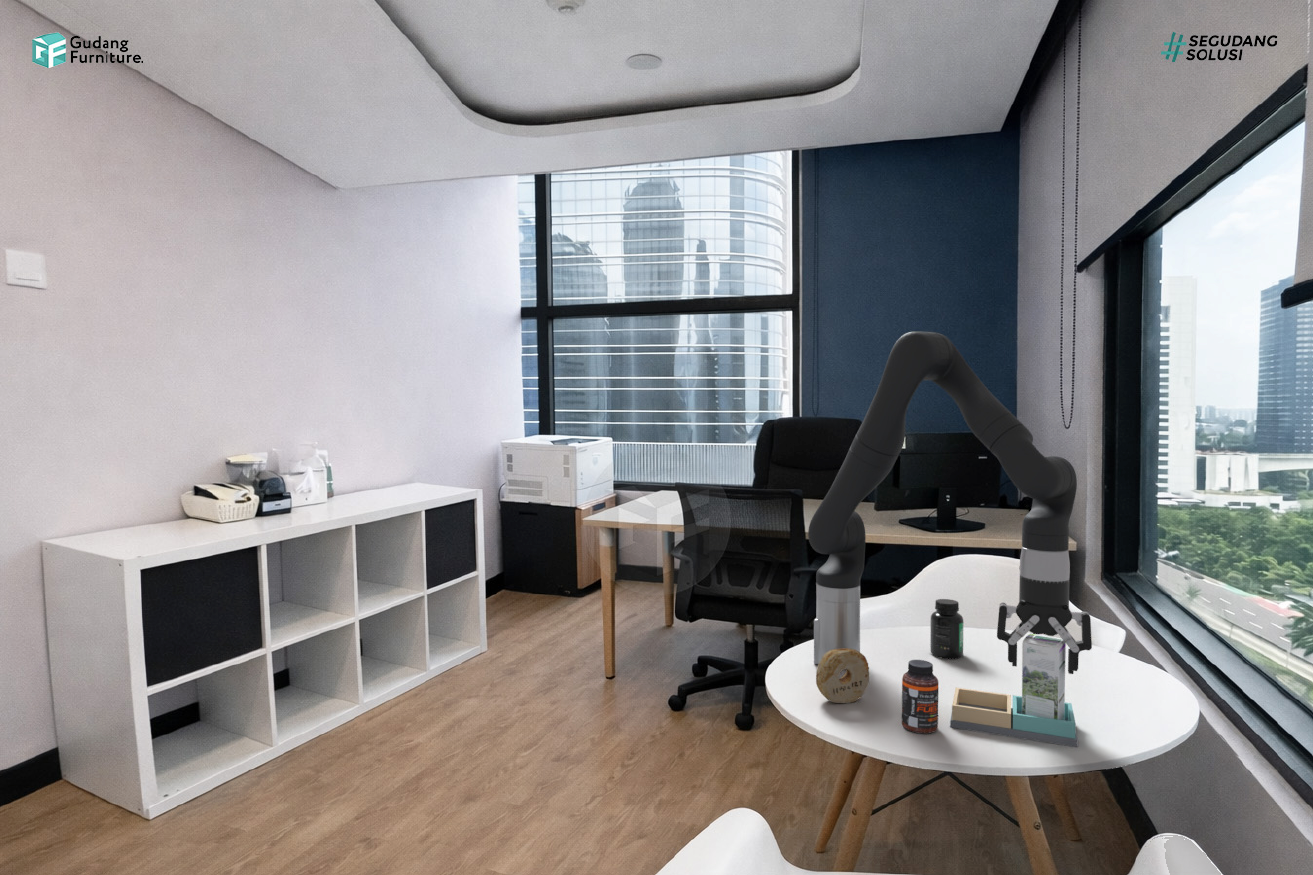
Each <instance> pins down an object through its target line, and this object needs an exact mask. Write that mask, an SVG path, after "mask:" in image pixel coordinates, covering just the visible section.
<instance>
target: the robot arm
mask: <svg viewBox="0 0 1313 875" xmlns="http://www.w3.org/2000/svg"><path fill="white" fill-rule="evenodd" d="M922 381H932V382H933V383H934V384H936V385H937V386H938V387H940V388H941V389H943V391H945V392H946V393H947V394H948V395H949V396H950V397H951V398H952V399H953V401H954V402H955V404H956V406H958V408H959V411H960V413H961V416H962V417H963V419H964V421H965V423H966V425H967V427H968V428H969V430H970V431H971V432H972V434H973V435H974V436H975V437H976V438H977V439H978V441H980V442H981V444H983V445H984V447H985V448H986V449H988V451H990V453H991V454H993V455H994V456H995V457H996V458H997V460H998V461H999V463H1000V465H1001V467H1002V469H1003V470H1004V472H1005V473H1006V475H1007V476H1008V478H1009V479H1010V481H1011V482H1012V483H1013V485H1014V486H1015V487H1016V488H1017V489H1018V490H1019V492H1021V493H1022V494H1024V495H1025V496H1027V497H1028V498H1030V499H1032V503H1031V510H1030V511H1028V513H1026V514H1025V516H1024V517H1023V520H1022V528H1021V530H1022V531H1021V552H1020V558H1019V567H1018V568H1019V590H1018V594H1019V595H1018V596H1019V598H1018V604H1017V605H1008V604H1007V603H1006V602H1001V603H999V605H998V606H999V607H998V619H997V627H996V628H997V629H996V638H997V639H998V640H1000V641H1004V642H1005V643H1006V644H1007V661H1008V662H1009V663H1012V665H1011V666H1012V667H1018V665H1017V664H1018V663H1017V662H1018V642H1020V640H1021V638H1023V637H1024V636H1025V635H1026V634H1028V632H1030V633H1031V634H1036V635H1044V636H1048V637H1054V636H1057V635H1058V636H1060V639H1063V641H1064V642H1065V643H1066V646H1067V647H1068V650H1067V651H1068V652H1067V653H1068V654H1067V657H1068V658H1067V672H1068V674H1069V675H1074V673H1075V672H1077V671H1078V669H1079V654H1080V652H1082V651H1091V650H1092V647H1093V641H1092V623H1091V615H1090V613H1089V612H1088V611H1087V610H1082V611H1081V612H1078V611H1077V612H1076V611H1071V610H1070V605H1069V604H1070V575H1071V569H1070V566H1071V563H1070V562H1071V561H1070V554H1069V553H1070V552H1069V545H1070V544H1069V541H1070V532H1069V531H1070V530H1069V528H1070V527H1069V523H1070V521H1071V520H1070V518H1071V516H1072V512H1073V508H1074V503H1075V499H1076V494H1077V487H1078V486H1077V485H1078V479H1077V474H1076V470H1075V468H1074V466H1073V465H1072V464H1071V462H1070V461H1069V460H1067V459H1065V458H1063V457H1061V456H1055V455H1051V456H1044V455H1043V454H1042V453H1041V452H1040V451H1039V450H1038V448H1036V446H1035V445H1034V444H1033V442H1034V437H1033V435H1032V433H1031V431H1030V430H1029V429H1028V428H1027V427H1026V426H1025V425H1024V424H1023V423H1022V421H1020V419H1018V418H1017V417H1016V416H1015V415H1014V414H1013V413H1012V412H1011V411H1010V410H1009V409H1008V408H1007V407H1006V406H1004V404H1003V403H1001V401H1000V400H999V399H998V398H997V397H995V395H994V394H993V393H992V392H991V391H990V389H988V388H987V386H985V384H984V382H982V380H981V379H980V378H979V376H977V374H976V373H975V371H973V369H972V368H971V367H970V365H969V364H968V362H967V361H966V359H965V358H964V357H963V356H962V354H961V353H960V351H959V350H958V348H957V347H956V346H955V344H954V343H953V342H952V341H951V340H950V339H949V337H947V336H946V335H944V334H942V333H938V332H934V331H921V330H920V331H916V330H915V331H910V332H906V333H904V334H903V335H901V336H900V337H899V338H898V339H897V340H896V342H895V343H894V345H893V346H892V349H891V351H890V353H889V356H888V358H887V361H886V364H885V367H884V370H883V373H882V376H881V380H880V382H879V383H878V387H877V389H876V392H875V395H874V396H873V399H872V401H871V403H870V405H869V407H868V409H867V412H866V414H865V416H864V418H863V421H862V422H861V424H860V426H859V428H858V430H857V432H856V434H855V436H854V438H853V439H852V442H851V445H850V447H849V449H848V452H847V454H846V455H845V456H846V457H845V459H844V460H843V462H842V465H841V466H840V469H839V470H838V472H837V473H836V476H835V479H834V481H833V482H832V485H831V486H830V488H829V489H828V492H827V493H826V495H825V496H824V498H823V500H822V501H821V503H820V504H819V506H818V507H817V509H816V511H815V512H814V513H813V516H812V518H811V520H810V522H809V526H808V529H807V530H808V531H807V532H808V533H807V535H808V542H809V544H810V546H811V547H812V549H813V550H814V551H815V552H816V553H818V554H821V555H829V557H828V559H827V560H826V562H825V563H824V564H823V565H822V566H820V567H819V568H818V569H817V571H816V573H815V574H816V576H815V579H816V582H815V585H816V591H815V593H816V603H815V604H816V607H815V608H816V612H815V613H816V617H815V618H814V620H813V664H815V665H818V664H819V663H820V660H821V659H822V657H823V655H824V654H825V653H826V652H828V651H830V650H833V649H841V648H849V649H854V650H856V651H858V652H860V653H861V578H862V575H863V573H864V569H865V556H866V555H865V554H866V528H865V527H866V526H865V524H864V521H863V519H862V517H861V515H860V514H859V513H858V512H856V509H857V508H858V506H859V504H860V503H862V501H863V500H864V499H865V498H866V497H868V496H869V495H870V494H871V493H872V492H873V491H874V490H875V489H876V487H878V486H879V485H880V484H881V483H882V482H883V481H884V480H885V478H886V477H888V475H889V474H890V472H891V471H892V469H893V467H894V466H895V463H896V461H897V460H898V457H899V455H900V453H901V451H902V449H903V447H904V444H905V438H906V437H905V436H906V417H907V416H906V415H907V411H908V407H909V405H910V403H911V400H912V399H913V396H914V395H915V393H916V391H917V389H918V387H919V386H920V385H921V383H922ZM1013 614H1016V615H1017V617H1018V618H1019V620H1020V621H1021V622H1019V623H1018V625H1016V627H1015V628H1014V630H1012V632H1011V633H1009V632H1007V631H1006V628H1007V627H1006V625H1007V619H1010V618H1012V616H1013ZM1072 620H1074V621H1075V622H1076V624H1077V625H1078V626H1079V627H1081V628H1080V629H1081V640H1077V641H1076V639H1075V638H1074V637H1073V636H1072V634H1071V633H1070V631H1069V630H1068V629H1067V628H1066V626H1067V625H1069V623H1070V622H1071V621H1072Z"/></svg>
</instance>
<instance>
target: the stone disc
mask: <svg viewBox="0 0 1313 875" xmlns="http://www.w3.org/2000/svg"><path fill="white" fill-rule="evenodd" d="M816 667H817V668H816V675H815V684H816V687H817V689H818V691H819V692H820V693H821V694H822V696H823V697H824V698H825V699H826V700H828V701H830V702H831V703H835V704H848V703H854V702H856V701H858V700H859V699H860V698H861V697H862V696H863V695H865V694H864V693H865V692H866V690H867V688H868V686H869V682H870V672H869V670H870V667H869V662H868V659H867V658H866V656H865V655H864V654H863V653H862V652H861V651H860V652H858V651H856V650H854V649H849V648H841V649H833V650H830V651H828V652H826V653H825V654H824V655H823V657H822V659H821V660H820V663H819V664H817V666H816ZM844 670H845V673H844V674H843V676H842V677H840V674H841V672H842V671H844Z"/></svg>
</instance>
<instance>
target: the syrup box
mask: <svg viewBox="0 0 1313 875" xmlns="http://www.w3.org/2000/svg"><path fill="white" fill-rule="evenodd" d="M1066 646H1067V644H1066V643H1065V642H1064V641H1063V639H1062V638H1061V637H1060V638H1059V637H1054V636H1048V635H1043V634H1033V633H1029V634H1027V635H1026V636H1025V638H1024V639H1023V640H1022V646H1021V647H1022V648H1021V649H1022V651H1021V652H1022V653H1021V654H1022V655H1021V656H1022V664H1021V665H1022V668H1021V669H1022V670H1021V671H1022V674H1021V696H1022V714H1024V715H1030V716H1037V717H1044V718H1051V719H1058V720H1065V702H1066V701H1065V700H1066V699H1065V698H1066V696H1065V695H1066V694H1065V692H1066V659H1067V658H1066V657H1067V656H1066V654H1067V651H1066V649H1067V647H1066Z"/></svg>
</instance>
